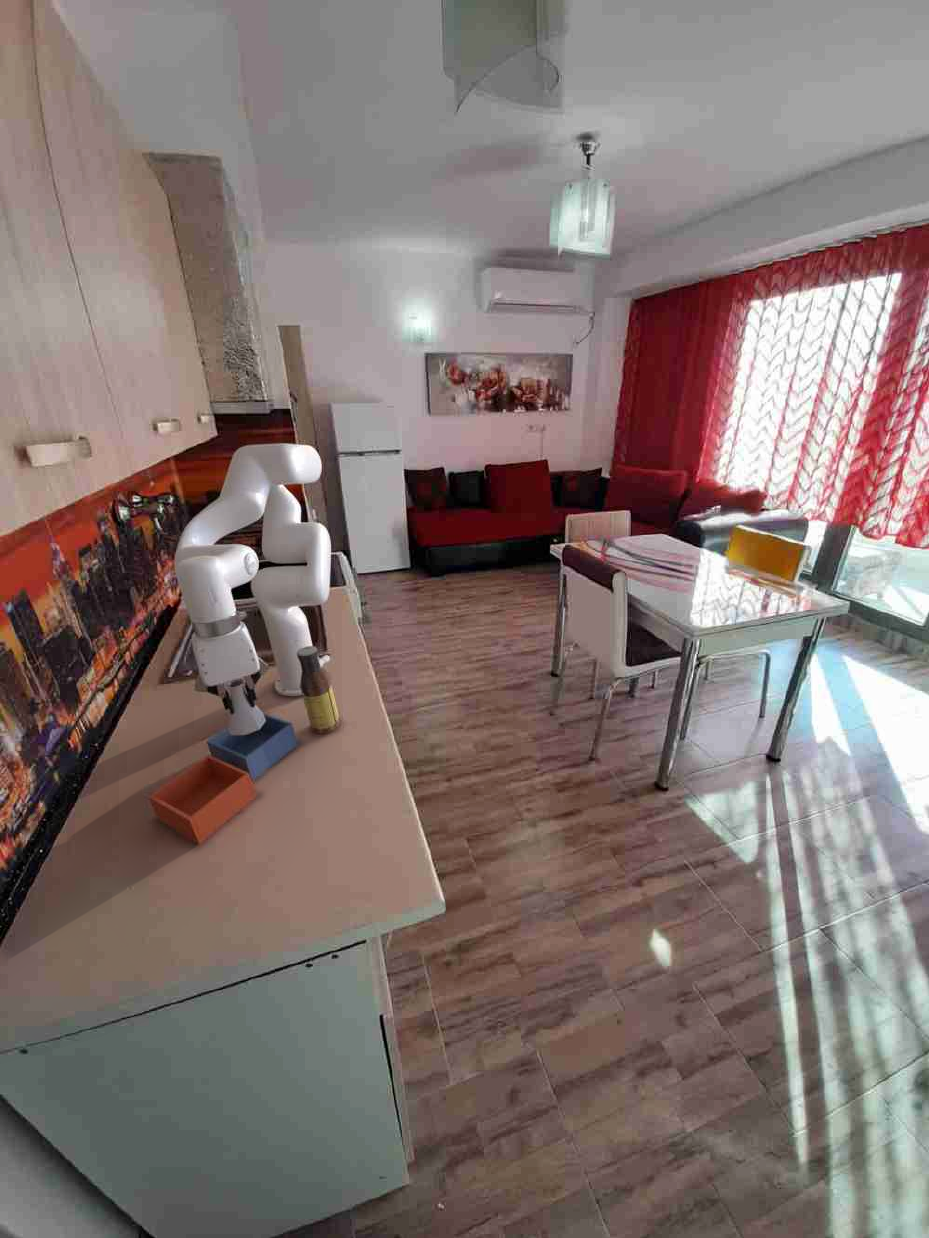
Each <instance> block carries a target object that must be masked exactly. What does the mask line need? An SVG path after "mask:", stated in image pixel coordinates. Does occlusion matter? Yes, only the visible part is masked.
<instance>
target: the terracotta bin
mask: <svg viewBox="0 0 929 1238" xmlns="http://www.w3.org/2000/svg"><path fill="white" fill-rule="evenodd" d="M256 797H257V793H256V790H255V786H254V783H253V781H252V780H251V777H250V774H249V773H247V772H245V771H243V770H241V769H239V768H236V767H234V766H232V765H230V764H228V763H226V762H223V761H221V760H219V759H217V758H215V757H212V756H211V754H207V755H206V756H204V757H203V758H202V759H200V760H199V761H197V762H196V763H194V764H193V765H191V766H190V767H189V768H186V770H184V771H183V772H181V773H180V774H178V775H177V776H176V777H174V778H173V779H171V780H170V781H168V782H167V783H166V784H164V785H162V786H161V787H160V788H158V789H157V790H155V791H154V792H153V793H151V794H150V795H148V796H147V798H148V800H149V802H150V805H151V807H152V809H153V812H154V813H155V815H156V817H157V820H158V821H160V822H161V823H163V824H164V825H166V826H168V827H169V828H171V829H174V830H175V831H176V832H178V833H180V834H181V835H183V836H185V837H186V838H188V839H190V840H191V841H193V842H194V843H196V844H198V845H201V844H202V843H203V842H204V841H205V840H206V839H207V838H209V837H210V836H211V835H212V834H214V833H215V832H216V831H218V829H219V828H221V827H222V826H223V825H224V824H226V823H227V822H228V821H229V820H230V819H231V818H233V817H234V816H235V815H236V814H237V813H239V812H240V811H241V810H242V809H243V808H244V807H245V806H247V805H249V803H250V802H251V801H253V800H254V799H255V798H256Z"/></svg>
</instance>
